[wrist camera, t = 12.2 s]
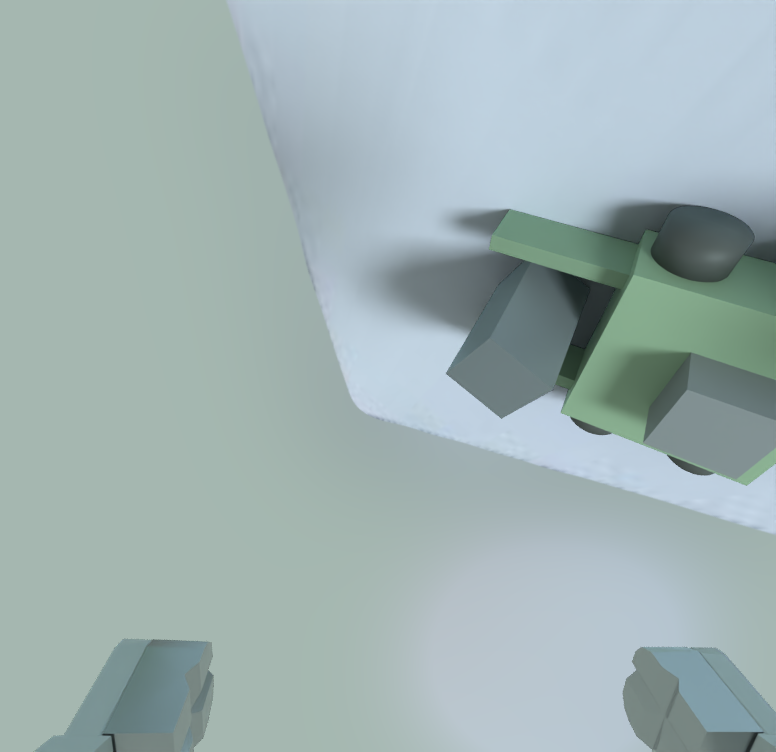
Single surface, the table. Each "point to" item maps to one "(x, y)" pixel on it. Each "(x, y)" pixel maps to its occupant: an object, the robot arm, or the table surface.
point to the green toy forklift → (670, 337)
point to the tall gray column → (520, 338)
